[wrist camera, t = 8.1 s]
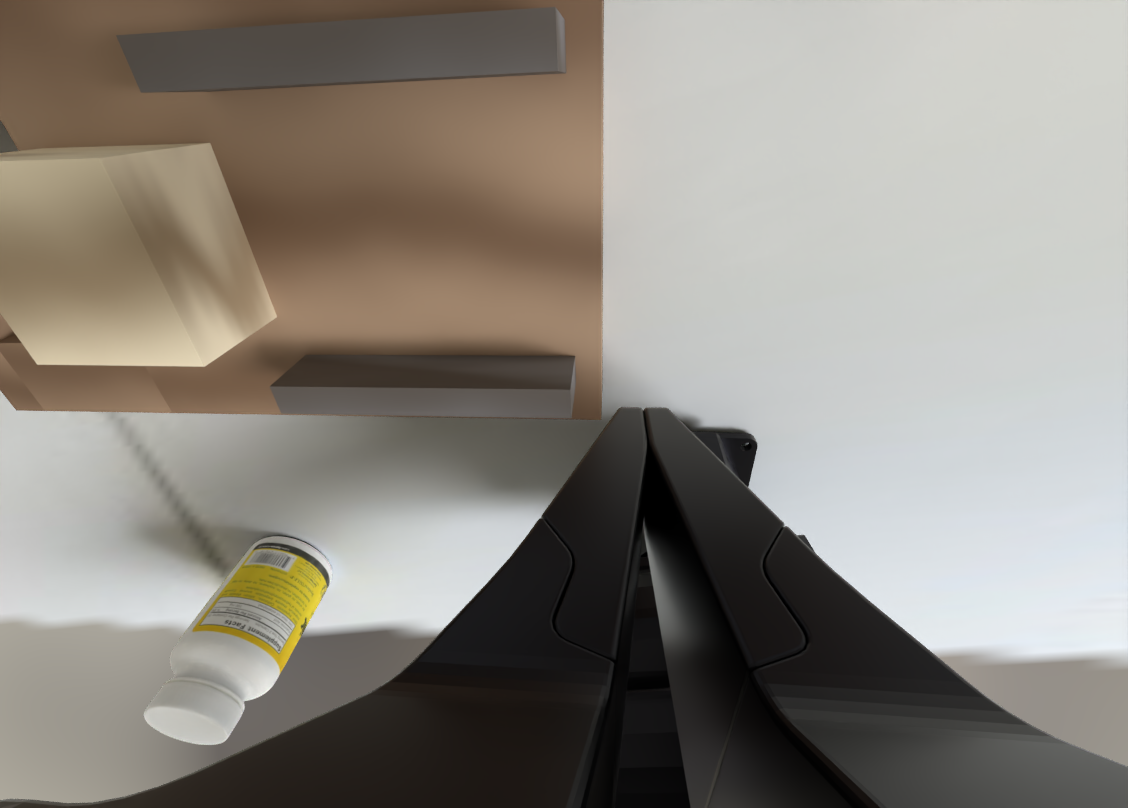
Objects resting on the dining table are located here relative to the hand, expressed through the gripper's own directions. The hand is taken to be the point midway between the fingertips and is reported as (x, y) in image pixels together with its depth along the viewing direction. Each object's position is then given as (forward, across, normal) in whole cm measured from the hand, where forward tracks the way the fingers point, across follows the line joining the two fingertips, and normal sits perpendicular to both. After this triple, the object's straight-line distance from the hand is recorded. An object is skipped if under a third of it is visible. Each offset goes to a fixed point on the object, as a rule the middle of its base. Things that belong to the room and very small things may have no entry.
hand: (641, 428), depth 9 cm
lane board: (+12, +15, -1) cm, 19 cm away
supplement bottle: (+12, +21, +20) cm, 31 cm away
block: (+10, +16, -1) cm, 19 cm away
